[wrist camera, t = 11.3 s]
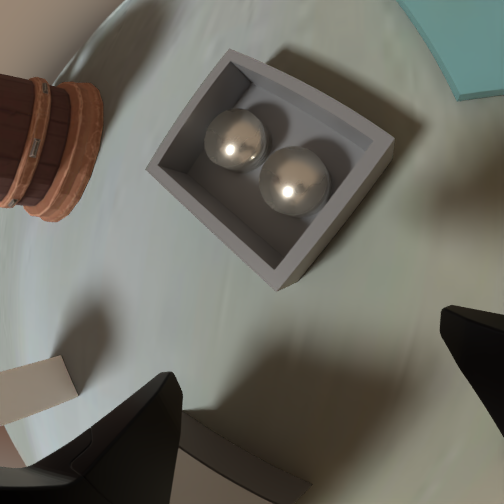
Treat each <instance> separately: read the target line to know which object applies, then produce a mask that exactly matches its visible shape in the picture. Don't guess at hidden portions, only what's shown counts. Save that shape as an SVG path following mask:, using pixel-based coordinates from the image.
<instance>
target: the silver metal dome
mask: <svg viewBox="0 0 504 504" xmlns="http://www.w3.org/2000/svg"><path fill="white" fill-rule="evenodd" d="M204 147H205V151H206V154H207V155H208V157H209V158H210V160H211V161H213V162H214V163H215V164H217V165H220V166H222V167H224V168H227V169H229V170H231V171H233V172H237V173H246V172H250V171H253V170H255V169H257V168H258V167H259V166H261V165H262V164H263V163H264V162H265V160H266V159H267V157H268V155H269V153H270V151H271V147H272V138H271V134H270V131H269V129H268V128H267V127H266V126H265V124H263V123H262V122H261V121H260V120H259V119H258V118H257V117H256V116H255V115H253V114H252V113H251V112H249V111H247V110H245V109H241V108H234V109H229V110H226V111H224V112H222V113H221V114H219V115H218V116H217V117H215V118H214V119H213V121H212V122H211V123H210V125H209V126H208V128H207V131H206V134H205V138H204Z"/></svg>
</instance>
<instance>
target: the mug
mask: <svg viewBox="0 0 504 504" xmlns="http://www.w3.org/2000/svg"><path fill="white" fill-rule="evenodd" d="M102 129H103V102H102V99H101V96H100V92H99V90H98V89H97V88H96V87H95V86H94V85H92V84H91V83H75V82H63V83H61V84H59V85H58V86H56V87H55V86H51V85H49V84H48V82H47V81H46V80H45V79H42V78H39V77H34V78H30V79H29V80H27V79H22V78H17V77H13V76H8V75H3V74H0V207H2V208H13V207H14V206H15V205H23V207H24V209H25V210H26V211H27V212H28V213H29V214H30V215H31V216H37V217H40V218H41V219H42V220H44V221H47V222H58V221H60V220H61V219H63V218H64V217H66V216H67V215H69V213H70V212H71V210H72V209H73V208H74V206H75V205H76V204H77V202H78V201H79V200H80V198H81V196H82V194H83V191H84V189H85V187H86V185H87V183H88V181H89V179H90V177H91V174H92V170H93V167H94V164H95V161H96V158H97V155H98V152H99V146H100V140H101V135H102Z"/></svg>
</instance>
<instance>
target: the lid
mask: <svg viewBox="0 0 504 504" xmlns="http://www.w3.org/2000/svg"><path fill="white" fill-rule="evenodd" d="M396 1H397V2H398V3H399V5H400V6H401V7H402V9H403V10H404V11H405V13H406V14H407V16H408V17H409V18H410V20H411V21H412V23H413V24H414V26H415V27H416V29H417V30H418V32H419V33H420V35H421V36H422V38H423V40H424V41H425V43H426V44H427V46H428V48H429V49H430V51H431V53H432V54H433V56H434V58H435V60H436V61H437V63H438V65H439V67H440V69H441V71H442V72H443V74H444V76H445V78H446V80H447V82H448V84H449V86H450V88H451V90H452V92H453V94H454V96H455V98H456V101H462V100H469V99H476V98H483V97H490V96H499V95H504V0H396Z"/></svg>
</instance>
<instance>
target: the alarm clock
mask: <svg viewBox="0 0 504 504" xmlns="http://www.w3.org/2000/svg"><path fill="white" fill-rule="evenodd" d="M311 486H312V484H310V483H308V482H306V481H303V480H301V479H299V478H297V477H295V476H293V475H291V474H288V473H286V472H284V471H282V470H280V469H278V468H276V467H274V466H272V465H270V464H268V463H267V462H265V461H263V460H261V459H259V458H257V457H255V456H254V455H252V454H250V453H248V452H246V451H245V450H243V449H241V448H239V447H238V446H236V445H234V444H233V443H231V442H229V441H228V440H226V439H224V438H223V437H221V436H219V435H218V434H216V433H215V432H213V431H212V430H210V429H208V428H207V427H205V426H204V425H202V424H201V423H199V422H198V421H196V420H195V419H193V418H192V417H191V416H189V415H188V414H186V413H185V412H183V411H182V422H181V436H180V442H179V448H178V454H177V460H176V466H175V472H174V478H173V484H172V491H171V497H170V504H294V503H295V502H296V501H297V500H298V499H299V498H300V497H301V496H302V495H303V494H304V493H305V492H306V491H307V490H308V489H309V488H310V487H311Z"/></svg>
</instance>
